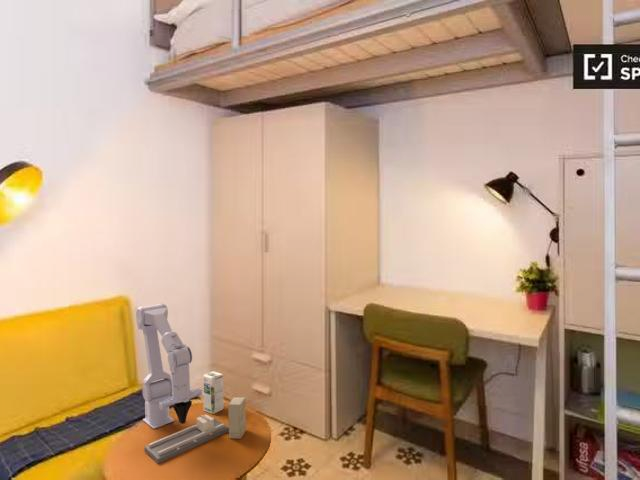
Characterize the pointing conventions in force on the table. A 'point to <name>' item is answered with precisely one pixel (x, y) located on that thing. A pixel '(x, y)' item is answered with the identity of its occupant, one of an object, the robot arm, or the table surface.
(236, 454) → the table surface
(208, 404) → the syrup box
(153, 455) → the gray slider track
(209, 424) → the fader tab
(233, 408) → the skincare box
